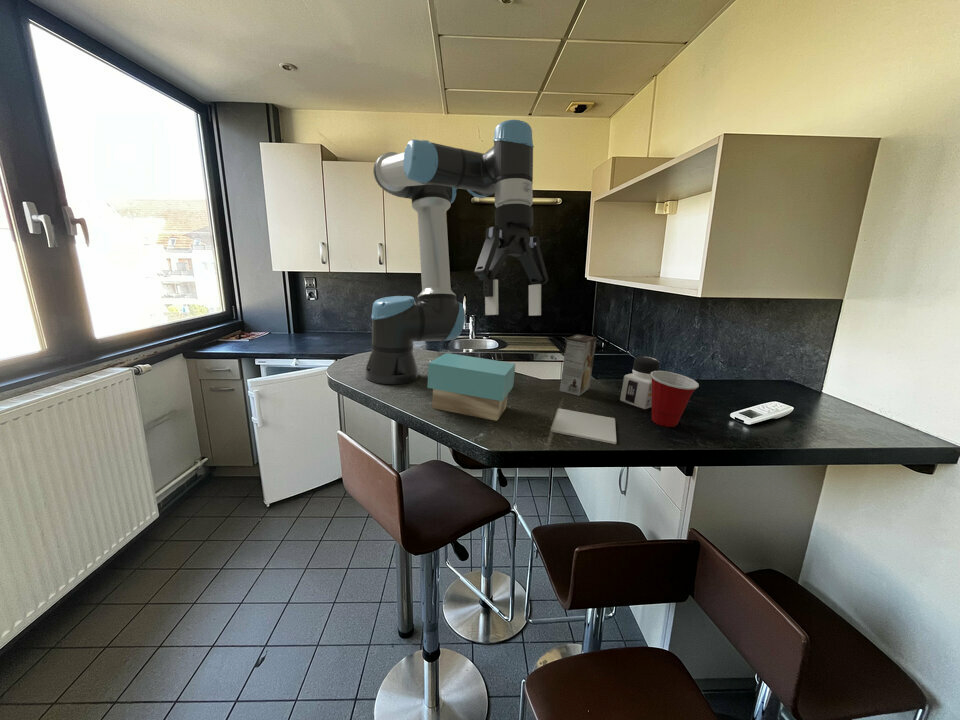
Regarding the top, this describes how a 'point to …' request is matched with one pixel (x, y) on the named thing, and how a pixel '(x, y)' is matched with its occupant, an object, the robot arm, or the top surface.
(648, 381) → the container
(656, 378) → the plastic cup
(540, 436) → the top surface
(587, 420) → the mat
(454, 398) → the box
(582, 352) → the coffee box
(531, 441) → the top surface
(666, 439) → the top surface
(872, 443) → the top surface
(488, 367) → the lid
